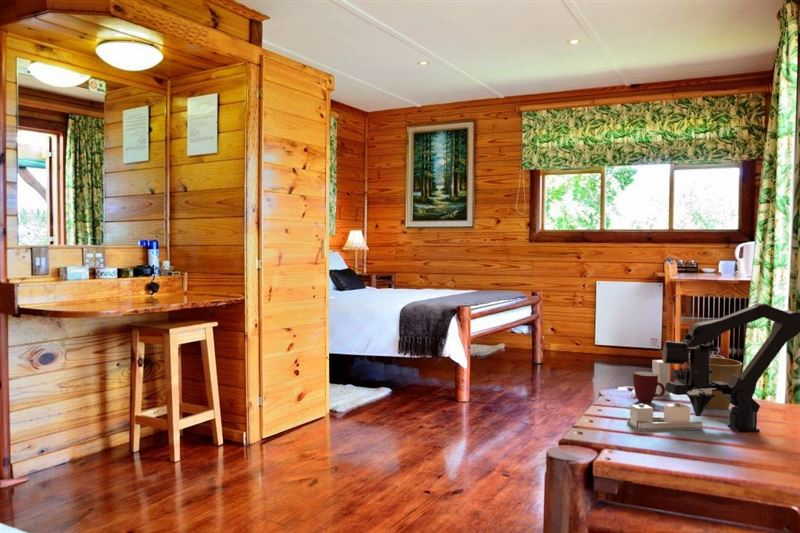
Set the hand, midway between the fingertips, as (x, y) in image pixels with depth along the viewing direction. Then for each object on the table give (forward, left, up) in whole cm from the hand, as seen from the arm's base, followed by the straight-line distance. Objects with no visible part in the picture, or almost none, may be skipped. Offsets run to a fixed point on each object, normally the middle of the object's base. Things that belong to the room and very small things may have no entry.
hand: (697, 416), depth 192 cm
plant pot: (-20, -21, -3) cm, 29 cm away
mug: (0, -29, -3) cm, 29 cm away
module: (+7, 0, -2) cm, 7 cm away
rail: (+11, 0, -3) cm, 11 cm away
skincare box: (-12, -42, -3) cm, 44 cm away
